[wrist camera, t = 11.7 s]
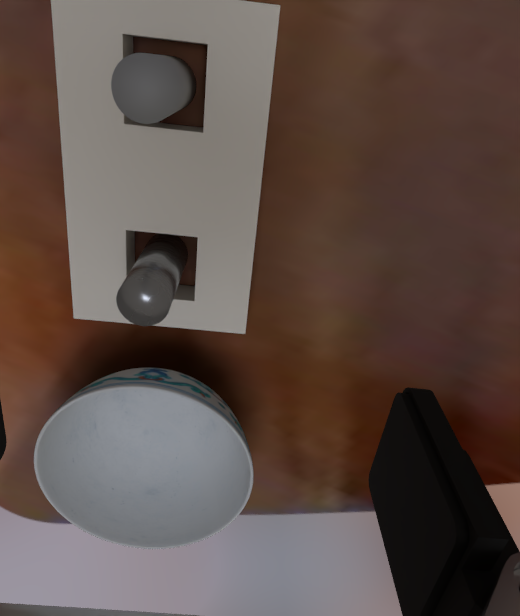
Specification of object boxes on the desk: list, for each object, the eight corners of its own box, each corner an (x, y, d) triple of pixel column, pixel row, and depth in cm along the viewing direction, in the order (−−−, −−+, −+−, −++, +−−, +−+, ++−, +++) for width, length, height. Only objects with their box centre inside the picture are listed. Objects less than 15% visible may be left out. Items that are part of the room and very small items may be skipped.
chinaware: (210, 300, 36) (198, 356, 29) (279, 445, 42) (283, 519, 35) (36, 362, 38) (-12, 427, 32) (126, 491, 45) (102, 568, 38)
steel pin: (145, 230, 34) (115, 275, 27) (188, 235, 34) (170, 280, 27) (145, 270, 35) (116, 323, 28) (187, 274, 35) (169, 328, 28)
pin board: (66, -17, 27) (-3, -46, 20) (278, 10, 28) (285, -10, 21) (85, 302, 36) (42, 361, 29) (245, 317, 37) (243, 378, 30)
